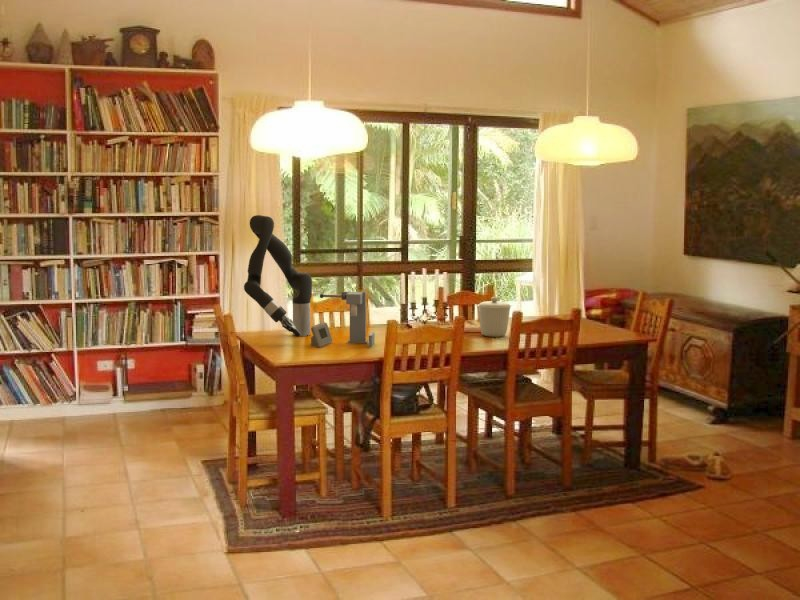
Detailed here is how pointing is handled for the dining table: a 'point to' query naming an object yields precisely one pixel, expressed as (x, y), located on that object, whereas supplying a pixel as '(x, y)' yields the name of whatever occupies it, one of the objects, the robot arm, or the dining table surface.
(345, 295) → the lever
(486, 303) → the canister
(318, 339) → the digital clock
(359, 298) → the press
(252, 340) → the dining table surface
